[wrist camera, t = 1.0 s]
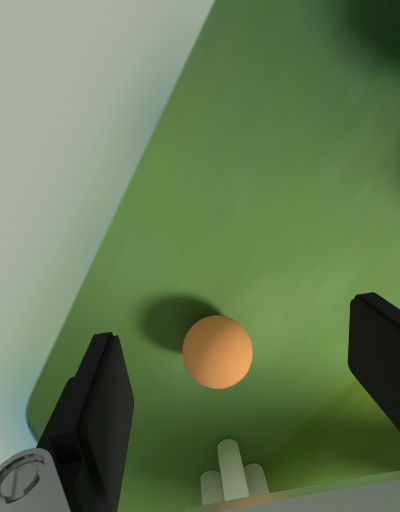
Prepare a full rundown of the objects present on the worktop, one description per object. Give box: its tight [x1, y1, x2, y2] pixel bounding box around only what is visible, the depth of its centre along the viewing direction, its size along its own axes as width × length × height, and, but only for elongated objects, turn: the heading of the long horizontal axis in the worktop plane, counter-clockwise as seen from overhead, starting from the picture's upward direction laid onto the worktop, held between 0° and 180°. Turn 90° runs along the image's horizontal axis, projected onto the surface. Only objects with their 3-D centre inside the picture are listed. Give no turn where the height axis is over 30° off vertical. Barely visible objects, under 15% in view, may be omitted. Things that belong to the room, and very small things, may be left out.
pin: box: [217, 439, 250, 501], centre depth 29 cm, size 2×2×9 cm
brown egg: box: [182, 315, 253, 389], centre depth 26 cm, size 6×6×6 cm
